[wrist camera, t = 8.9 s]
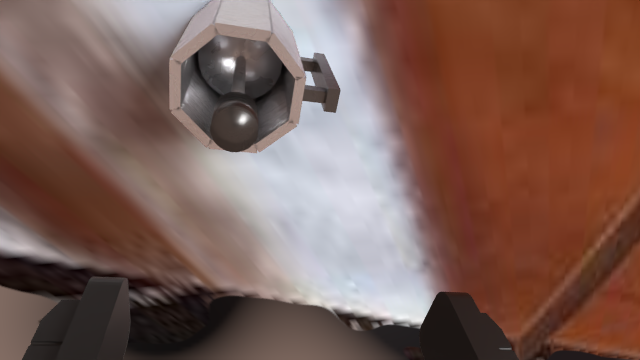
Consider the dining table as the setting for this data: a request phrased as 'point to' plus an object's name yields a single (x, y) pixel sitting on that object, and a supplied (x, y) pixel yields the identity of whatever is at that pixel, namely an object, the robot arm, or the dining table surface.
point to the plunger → (237, 86)
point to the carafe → (273, 107)
